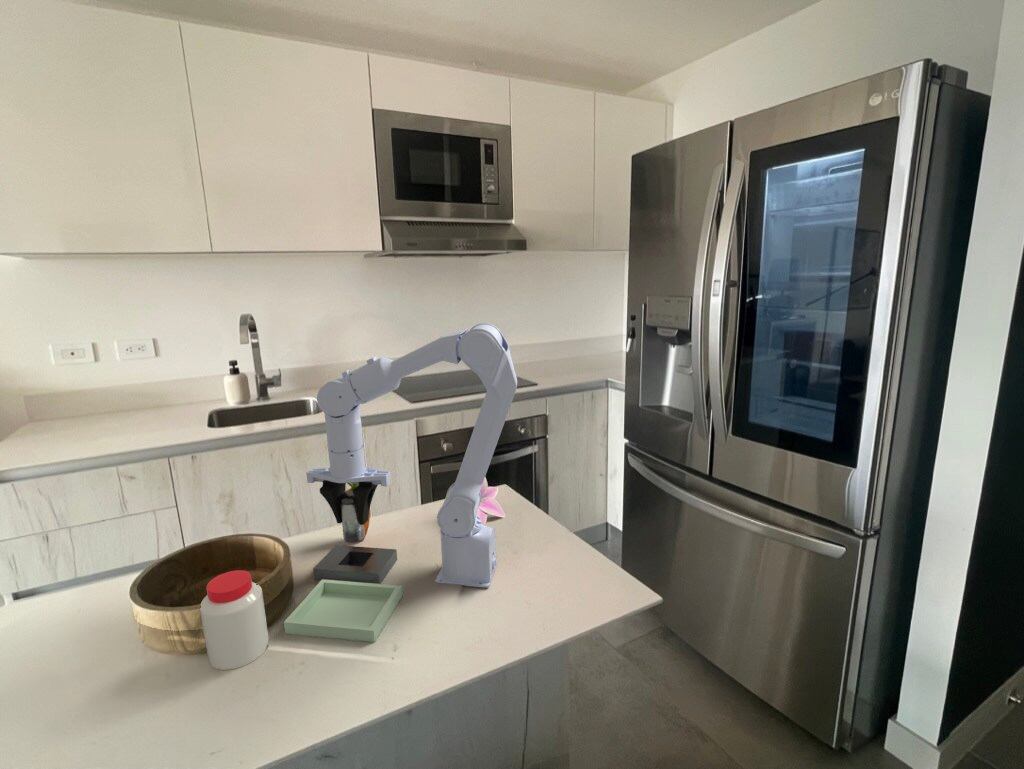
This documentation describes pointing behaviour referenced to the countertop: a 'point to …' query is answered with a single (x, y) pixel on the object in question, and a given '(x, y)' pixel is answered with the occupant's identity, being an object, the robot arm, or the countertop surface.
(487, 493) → the lily
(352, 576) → the hitch block
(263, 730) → the countertop surface
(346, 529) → the pin
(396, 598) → the tray
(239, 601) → the pill bottle
